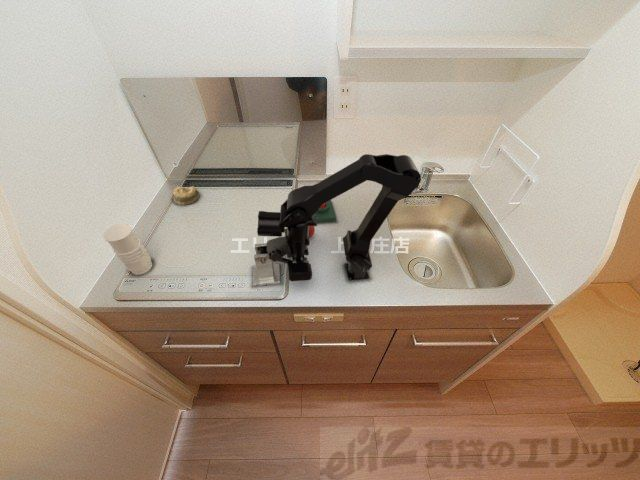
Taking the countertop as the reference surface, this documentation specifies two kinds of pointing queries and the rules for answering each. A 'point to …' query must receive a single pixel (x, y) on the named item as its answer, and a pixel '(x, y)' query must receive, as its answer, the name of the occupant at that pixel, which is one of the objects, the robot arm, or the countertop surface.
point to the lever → (264, 251)
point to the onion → (311, 231)
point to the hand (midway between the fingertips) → (296, 270)
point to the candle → (128, 248)
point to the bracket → (264, 268)
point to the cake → (185, 195)
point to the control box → (326, 213)
